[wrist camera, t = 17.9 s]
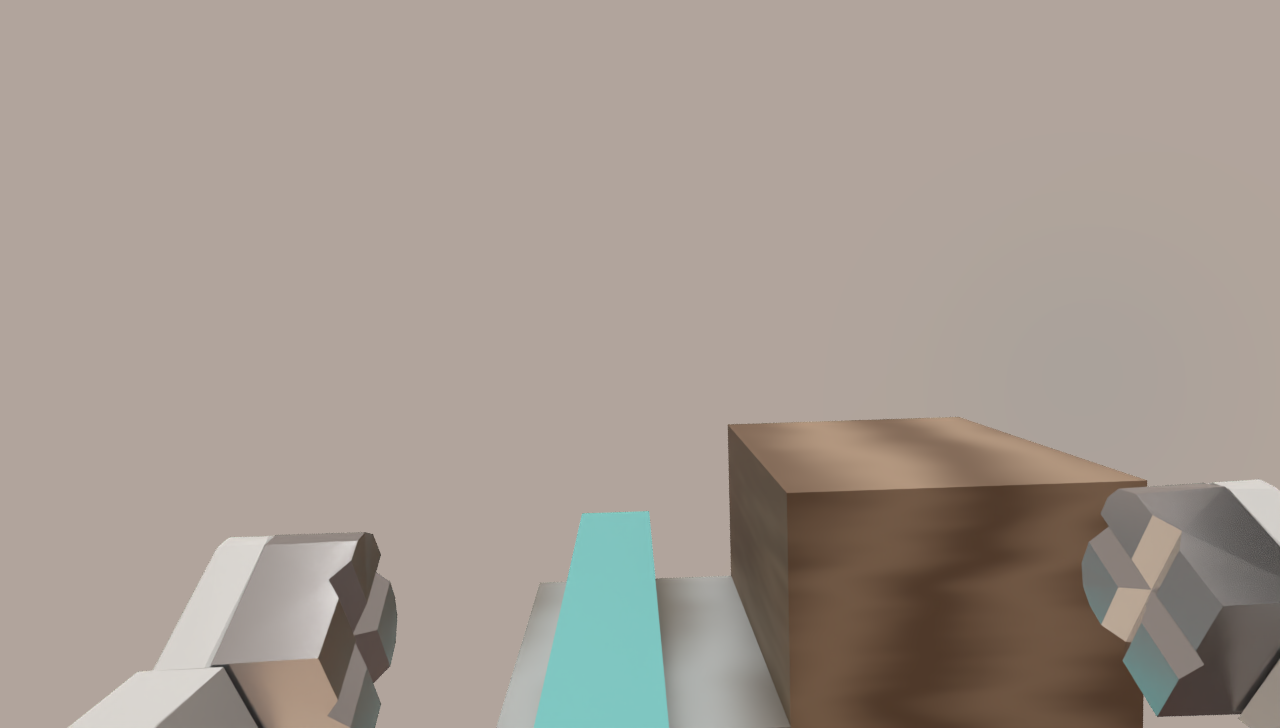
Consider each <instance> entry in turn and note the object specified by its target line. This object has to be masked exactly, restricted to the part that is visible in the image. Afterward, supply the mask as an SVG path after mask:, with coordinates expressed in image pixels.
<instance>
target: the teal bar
mask: <svg viewBox="0 0 1280 728" xmlns="http://www.w3.org/2000/svg"><path fill="white" fill-rule="evenodd" d="M534 728H669V721H668V710H667V699H666V689H665V678H664V667H663V656H662V646H661V635H660V624H659V613H658V603H657V592H656V581H655V570H654V560H653V549H652V539H651V527H650V517H649V511H643V512H613V513H586V514H585V513H583V514H582V517H581V521H580V526H579V530H578V534H577V539H576V544H575V548H574V552H573V556H572V561H571V565H570V570H569V574H568V579H567V583H566V587H565V592H564V596H563V600H562V605H561V609H560V614H559V618H558V622H557V627H556V631H555V636H554V640H553V644H552V649H551V653H550V658H549V662H548V666H547V671H546V675H545V680H544V684H543V688H542V693H541V697H540V702H539V706H538V710H537V715H536V719H535V724H534Z"/></svg>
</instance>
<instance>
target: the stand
mask: <svg viewBox="0 0 1280 728" xmlns="http://www.w3.org/2000/svg"><path fill="white" fill-rule="evenodd" d="M728 449H729V450H728V451H729V452H728V453H729V498H730V539H731V540H730V543H731V576H718V577H717V576H714V577H689V578H688V577H687V578H660V579H655V581H656V592H657V603H658V613H659V624H660V635H661V646H662V656H663V667H664V678H665V689H666V699H667V710H668V721H669V728H1143V693H1142V692H1141V690H1140V688H1139V687H1138V685H1137V683H1136V682H1135V680H1134V678H1133V677H1132V675H1131V674H1130V672H1129V670H1128V669H1127V667H1126V665H1125V664H1124V662H1123V655H1124V649H1125V644H1126V642H1125V641H1124V640H1122V639H1121V638H1119V637H1118V636H1116V635H1115V634H1114V633H1112V632H1111V631H1109V630H1108V629H1106V628H1105V627H1103V626H1102V625H1101V624H1100V622H1099V621H1098V619H1097V617H1096V615H1095V614H1094V612H1093V610H1092V609H1091V607H1090V605H1089V602H1088V599H1087V596H1086V593H1085V591H1084V588H1083V578H1082V560H1083V557H1084V554H1085V551H1086V549H1087V546H1088V543H1089V541H1091V540H1092V539H1093V538H1094V537H1096V536H1097V535H1098V534H1100V533H1101V532H1102V531H1104V530H1105V529H1106V528H1108V525H1107V524H1106V522H1105V520H1104V519H1103V517H1102V516H1101V511H1102V509H1103V507H1104V505H1105V502H1106V500H1107V498H1108V497H1109V496H1110V495H1111V494H1112V493H1114V492H1115V491H1116V490H1117V489H1121V488H1136V487H1147V480H1144V479H1141V478H1138V477H1135V476H1132V475H1129V474H1126V473H1123V472H1120V471H1117V470H1114V469H1111V468H1108V467H1105V466H1103V465H1099V464H1096V463H1093V462H1090V461H1088V460H1085V459H1082V458H1079V457H1076V456H1073V455H1070V454H1067V453H1064V452H1061V451H1058V450H1055V449H1052V448H1049V447H1046V446H1043V445H1040V444H1037V443H1034V442H1031V441H1028V440H1025V439H1022V438H1019V437H1016V436H1013V435H1010V434H1007V433H1004V432H1001V431H998V430H996V429H992V428H989V427H986V426H984V425H981V424H978V423H975V422H972V421H969V420H966V419H963V418H960V417H945V418H915V419H883V420H852V421H824V422H823V421H822V422H794V423H793V422H792V423H762V424H735V425H734V424H732V425H728ZM566 583H567V582H550V583H540V585H539V588H538V592H537V595H536V598H535V602H534V605H533V608H532V611H531V615H530V618H529V621H528V625H527V628H526V631H525V635H524V638H523V642H522V644H521V648H520V651H519V654H518V658H517V661H516V664H515V668H514V671H513V674H512V677H511V681H510V685H509V687H508V691H507V694H506V697H505V701H504V704H503V707H502V711H501V714H500V717H499V720H498V724H497V727H496V728H534V724H535V719H536V715H537V710H538V706H539V702H540V697H541V693H542V688H543V684H544V680H545V675H546V671H547V666H548V662H549V658H550V653H551V649H552V644H553V640H554V636H555V631H556V627H557V622H558V618H559V614H560V609H561V605H562V600H563V596H564V592H565V587H566Z"/></svg>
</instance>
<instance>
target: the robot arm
mask: <svg viewBox="0 0 1280 728" xmlns="http://www.w3.org/2000/svg"><path fill="white" fill-rule="evenodd" d="M1101 516H1102V517H1103V519H1104V520H1105V522H1106V524H1107V525H1108V528H1106V529H1105V530H1104V531H1102V532H1101V533H1100V534H1098V535H1097V536H1096V537H1094V538H1093V539H1092V540H1091V541H1089V543H1088V546H1087V549H1086V551H1085V554H1084V557H1083V560H1082V578H1083V588H1084V591H1085V593H1086V596H1087V599H1088V602H1089V605H1090V607H1091V609H1092V610H1093V612H1094V614H1095V615H1096V617H1097V619H1098V621H1099V622H1100V624H1101V625H1102V626H1103V627H1105V628H1106V629H1108V630H1109V631H1111V632H1112V633H1114V634H1115V635H1116V636H1118V637H1119V638H1121V639H1122V640H1124V641H1125V642H1126V644H1125V649H1124V655H1123V662H1124V664H1125V665H1126V667H1127V669H1128V670H1129V672H1130V674H1131V675H1132V677H1133V678H1134V680H1135V682H1136V683H1137V685H1138V687H1139V688H1140V690H1141V692H1142V693H1143V695H1144V696H1145V698H1146V700H1147V701H1148V703H1149V705H1150V706H1151V708H1152V709H1153V711H1154V712H1155V714H1156V716H1157V717H1164V716H1197V715H1229V714H1241V715H1240V716H1239V718H1238V719H1239V720H1241V721H1242V722H1243V723H1245V724H1246V725H1247V726H1248V727H1250V728H1280V491H1279V490H1278V489H1277V488H1275V487H1274V486H1272V485H1270V484H1268V483H1266V482H1264V481H1262V480H1245V481H1230V482H1214V483H1209V484H1206V483H1195V484H1182V485H1181V484H1180V485H1166V486H1151V487H1136V488H1121V489H1117V490H1116V491H1115V492H1114V493H1112V494H1111V495H1110V496H1109V497H1108V498H1107V500H1106V502H1105V505H1104V507H1103V509H1102V511H1101ZM380 556H381V554H380V551H379V549H378V546H377V543H376V541H375V538H374V536H373V534H370V533H366V532H361V533H360V532H358V533H326V534H296V535H295V534H294V535H275V536H257V537H230V538H228V539H227V540H226V541H224V542H223V543H222V544H221V545H220V546H219V547H218V548H217V549H216V550H215V552H214V554H213V556H212V558H211V560H210V562H209V564H208V565H207V567H206V569H205V571H204V573H203V575H202V577H201V579H200V581H199V583H198V584H197V586H196V588H195V590H194V592H193V594H192V596H191V598H190V600H189V602H188V604H187V606H186V607H185V610H184V611H183V613H182V615H181V617H180V619H179V621H178V623H177V625H176V627H175V629H174V630H173V632H172V635H171V636H170V638H169V640H168V642H167V644H166V646H165V648H164V650H163V652H162V654H161V656H160V657H159V659H158V661H157V663H156V665H155V667H154V669H153V670H152V671H141V672H137V673H135V674H134V675H133V676H132V677H130V678H129V679H128V680H127V681H126V682H124V683H123V684H122V685H120V686H119V687H118V688H117V689H116V690H114V691H113V692H112V693H111V694H109V695H108V696H107V697H106V698H104V699H103V700H102V701H100V702H99V703H98V704H97V705H95V706H94V707H93V708H92V709H90V710H89V711H88V712H87V713H85V714H84V715H83V716H82V717H80V718H79V719H78V720H77V721H75V723H73V724H72V725H70V726H69V727H68V728H375V725H376V721H377V717H378V714H379V709H380V706H381V703H380V700H379V697H378V695H377V692H376V689H375V687H374V684H373V683H374V682H375V681H376V680H377V679H378V678H379V677H380V676H381V675H382V674H383V673H384V672H385V671H386V670H387V669H388V668H389V667H390V664H391V660H392V656H393V652H394V647H395V643H396V627H397V611H396V603H395V596H394V593H393V590H392V587H391V583H390V581H388V580H387V579H385V578H384V577H382V576H381V575H380V574H378V573H377V572H376V570H377V567H378V563H379V560H380Z"/></svg>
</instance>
